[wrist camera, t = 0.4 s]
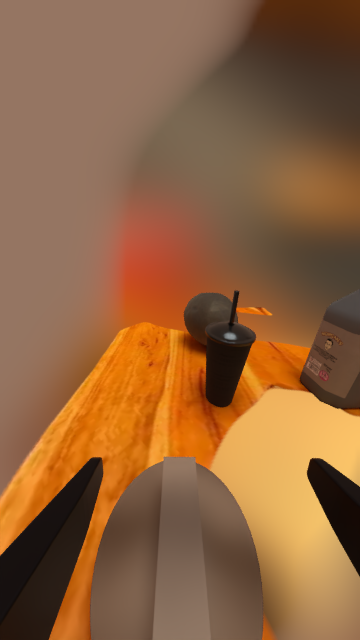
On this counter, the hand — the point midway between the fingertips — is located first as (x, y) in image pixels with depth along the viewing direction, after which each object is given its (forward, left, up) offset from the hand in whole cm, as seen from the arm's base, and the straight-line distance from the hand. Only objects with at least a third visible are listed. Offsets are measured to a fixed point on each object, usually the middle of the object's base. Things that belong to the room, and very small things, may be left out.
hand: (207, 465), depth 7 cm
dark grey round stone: (+39, -8, -17) cm, 43 cm away
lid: (+1, +1, -12) cm, 12 cm away
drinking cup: (+20, -7, -17) cm, 27 cm away
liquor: (+22, -30, -17) cm, 41 cm away
